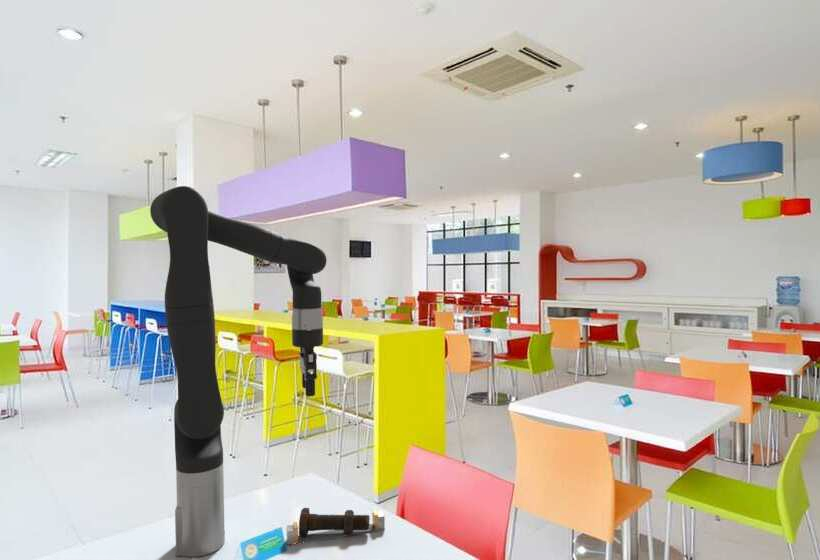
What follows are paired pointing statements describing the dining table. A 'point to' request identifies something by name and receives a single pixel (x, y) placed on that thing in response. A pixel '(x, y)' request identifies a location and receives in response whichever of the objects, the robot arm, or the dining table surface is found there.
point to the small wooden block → (378, 520)
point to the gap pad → (331, 534)
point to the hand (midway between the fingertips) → (308, 391)
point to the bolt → (332, 522)
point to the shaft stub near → (292, 533)
